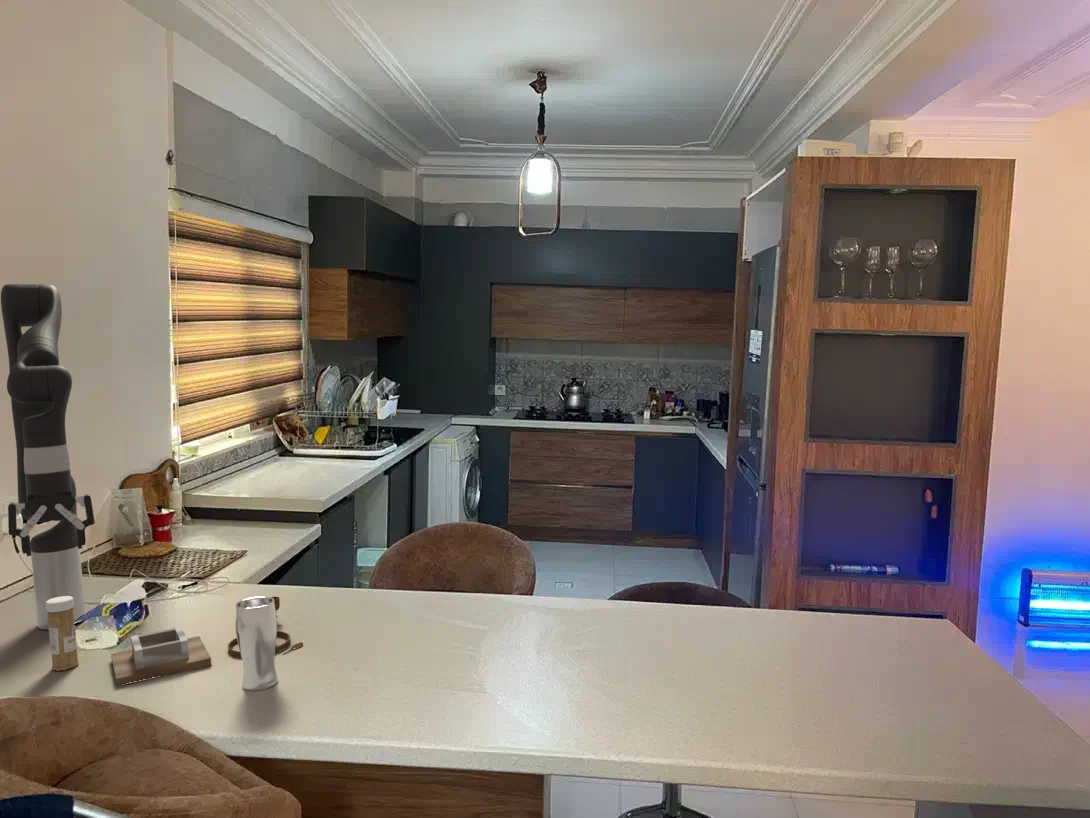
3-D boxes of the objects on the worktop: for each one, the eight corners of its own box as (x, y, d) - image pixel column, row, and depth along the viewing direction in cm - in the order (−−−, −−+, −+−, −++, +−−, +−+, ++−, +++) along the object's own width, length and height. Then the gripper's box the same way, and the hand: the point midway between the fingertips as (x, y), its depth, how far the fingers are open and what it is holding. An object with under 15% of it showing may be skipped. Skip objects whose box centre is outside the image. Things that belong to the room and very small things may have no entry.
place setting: (203, 654, 162) (201, 626, 162) (272, 621, 181) (270, 595, 180) (273, 666, 155) (271, 636, 155) (337, 630, 174) (336, 603, 173)
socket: (111, 661, 159) (109, 636, 158) (199, 643, 167) (198, 619, 166) (116, 686, 147) (114, 659, 146) (211, 665, 155) (209, 640, 155)
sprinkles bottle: (79, 667, 156) (73, 599, 155) (52, 673, 154) (45, 604, 152) (78, 660, 160) (72, 593, 159) (51, 666, 157) (44, 598, 156)
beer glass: (242, 695, 141) (236, 611, 140) (237, 680, 148) (231, 600, 146) (283, 686, 145) (278, 604, 143) (277, 672, 151) (272, 593, 149)
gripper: (88, 463, 164) (95, 542, 165) (4, 471, 157) (11, 554, 158) (90, 467, 158) (97, 549, 159) (2, 475, 150) (10, 561, 152)
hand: (54, 551), depth 158 cm, fingers open, 8 cm apart
